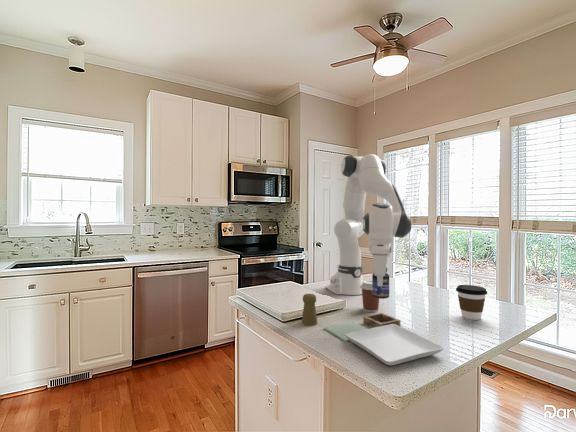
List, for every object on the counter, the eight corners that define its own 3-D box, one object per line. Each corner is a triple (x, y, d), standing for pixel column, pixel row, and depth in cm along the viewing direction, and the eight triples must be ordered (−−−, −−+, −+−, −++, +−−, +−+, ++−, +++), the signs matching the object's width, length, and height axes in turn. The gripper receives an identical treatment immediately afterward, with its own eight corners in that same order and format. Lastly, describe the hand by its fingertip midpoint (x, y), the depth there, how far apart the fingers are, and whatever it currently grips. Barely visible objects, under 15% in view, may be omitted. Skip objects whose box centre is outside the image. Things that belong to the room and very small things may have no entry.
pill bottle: (382, 299, 112) (382, 269, 112) (369, 296, 117) (368, 267, 117) (392, 297, 116) (392, 267, 116) (379, 293, 121) (379, 265, 121)
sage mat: (323, 328, 113) (323, 327, 113) (352, 323, 118) (352, 321, 118) (345, 342, 101) (345, 340, 101) (376, 335, 107) (376, 333, 107)
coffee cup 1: (373, 314, 128) (373, 285, 128) (355, 309, 135) (355, 281, 135) (385, 309, 134) (385, 282, 134) (367, 305, 141) (367, 278, 141)
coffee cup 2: (452, 317, 124) (452, 287, 124) (459, 311, 132) (459, 283, 132) (484, 324, 117) (484, 292, 117) (490, 317, 125) (490, 287, 125)
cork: (308, 319, 123) (308, 291, 123) (320, 323, 119) (320, 294, 118) (298, 323, 119) (298, 294, 118) (310, 327, 114) (310, 297, 114)
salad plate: (388, 373, 82) (388, 360, 82) (343, 342, 101) (343, 332, 101) (446, 358, 90) (446, 347, 90) (394, 332, 110) (394, 323, 110)
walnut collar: (363, 322, 118) (363, 316, 118) (382, 319, 123) (382, 312, 123) (381, 331, 110) (381, 324, 110) (400, 326, 114) (400, 320, 114)
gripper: (373, 243, 127) (373, 277, 127) (370, 249, 108) (369, 289, 108) (390, 244, 125) (389, 278, 125) (389, 250, 106) (388, 290, 106)
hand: (380, 283), depth 116 cm, fingers closed on pill bottle, 6 cm apart
